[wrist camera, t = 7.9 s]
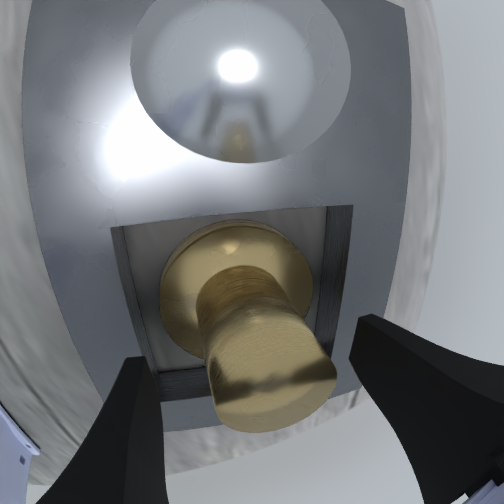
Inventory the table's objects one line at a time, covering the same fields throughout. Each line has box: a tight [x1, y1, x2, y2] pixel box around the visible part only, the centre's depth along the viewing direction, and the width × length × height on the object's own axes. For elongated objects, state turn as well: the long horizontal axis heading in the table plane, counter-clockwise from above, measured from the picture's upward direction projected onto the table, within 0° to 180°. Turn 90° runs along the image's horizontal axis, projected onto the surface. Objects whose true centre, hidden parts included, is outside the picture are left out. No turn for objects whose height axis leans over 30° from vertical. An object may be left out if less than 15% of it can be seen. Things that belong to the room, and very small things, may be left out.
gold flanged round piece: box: [159, 220, 337, 433], centre depth 10 cm, size 6×6×6 cm
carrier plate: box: [22, 0, 411, 432], centre depth 10 cm, size 20×14×4 cm
